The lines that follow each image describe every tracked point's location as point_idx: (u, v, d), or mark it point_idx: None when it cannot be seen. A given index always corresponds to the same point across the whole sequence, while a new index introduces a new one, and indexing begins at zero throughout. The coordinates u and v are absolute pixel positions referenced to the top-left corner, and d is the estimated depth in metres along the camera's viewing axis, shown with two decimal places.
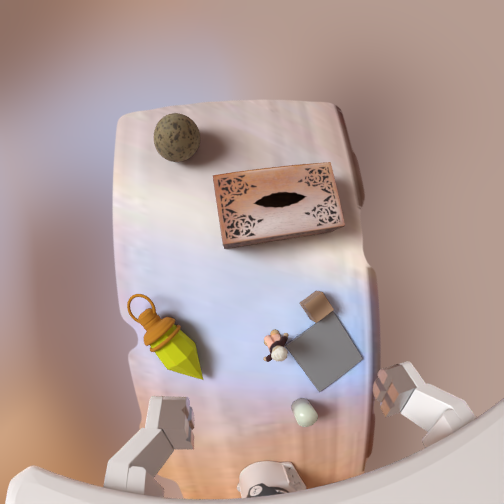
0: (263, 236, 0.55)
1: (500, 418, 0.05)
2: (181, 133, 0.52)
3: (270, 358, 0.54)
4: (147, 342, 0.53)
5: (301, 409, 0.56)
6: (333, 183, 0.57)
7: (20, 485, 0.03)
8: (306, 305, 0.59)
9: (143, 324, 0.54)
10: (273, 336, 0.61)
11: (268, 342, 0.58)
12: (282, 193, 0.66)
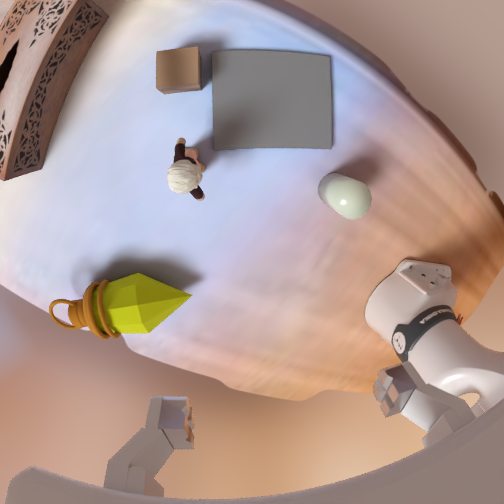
0: (17, 119, 0.20)
1: (500, 418, 0.05)
2: None
3: (194, 192, 0.29)
4: (100, 337, 0.35)
5: (333, 197, 0.33)
6: None
7: (20, 485, 0.03)
8: (158, 85, 0.26)
9: (81, 325, 0.36)
10: None
11: None
12: None
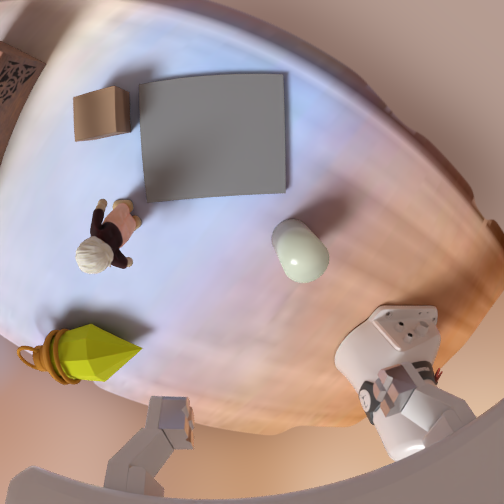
0: None
1: (500, 418, 0.05)
2: None
3: (115, 264, 0.25)
4: None
5: (281, 257, 0.29)
6: None
7: (20, 485, 0.03)
8: (77, 137, 0.22)
9: (45, 370, 0.32)
10: None
11: None
12: None
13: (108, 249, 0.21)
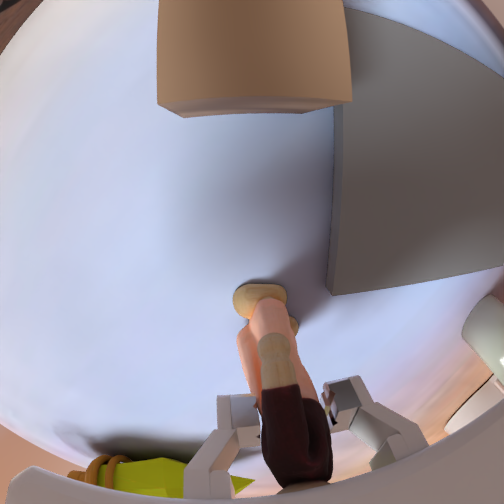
0: None
1: (500, 418, 0.05)
2: None
3: None
4: None
5: (503, 362, 0.13)
6: None
7: (20, 485, 0.03)
8: (168, 90, 0.06)
9: None
10: (254, 329, 0.13)
11: None
12: None
13: None
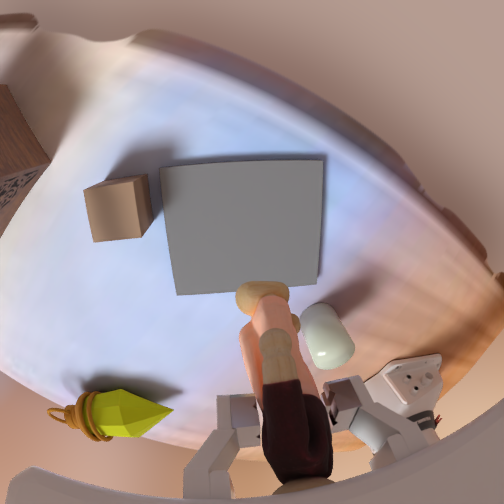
0: None
1: (500, 418, 0.05)
2: None
3: None
4: None
5: (311, 350, 0.29)
6: None
7: (20, 485, 0.03)
8: (95, 238, 0.22)
9: (78, 428, 0.32)
10: (256, 326, 0.13)
11: None
12: None
13: None
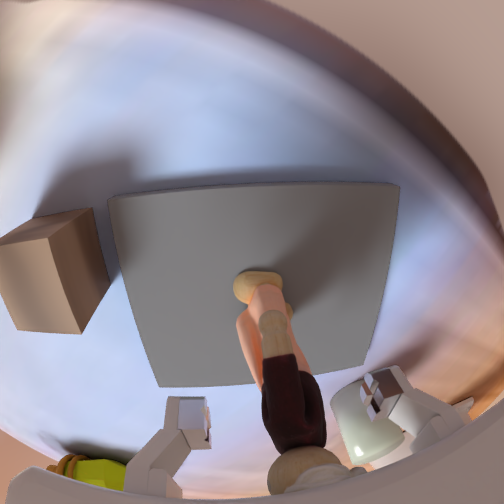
0: None
1: (500, 418, 0.05)
2: None
3: None
4: None
5: (349, 448, 0.17)
6: None
7: (20, 485, 0.03)
8: (18, 325, 0.11)
9: None
10: (253, 312, 0.14)
11: (253, 375, 0.12)
12: None
13: None
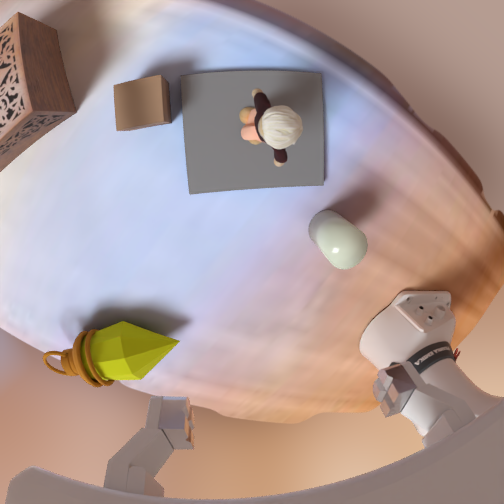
0: None
1: (500, 418, 0.05)
2: None
3: (281, 152, 0.22)
4: None
5: (324, 245, 0.30)
6: (16, 44, 0.12)
7: (20, 485, 0.03)
8: (119, 127, 0.23)
9: (75, 374, 0.33)
10: (249, 120, 0.27)
11: (250, 135, 0.25)
12: None
13: (301, 121, 0.19)
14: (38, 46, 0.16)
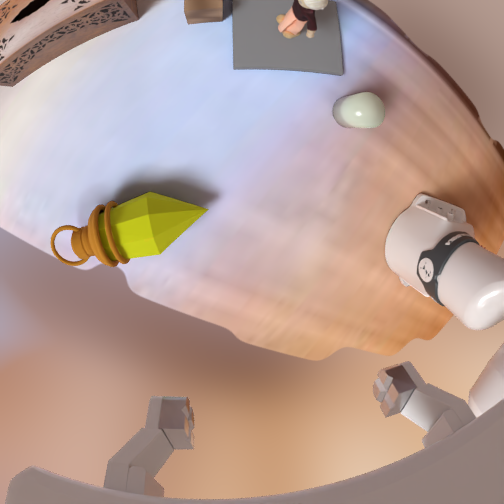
0: (11, 54, 0.17)
1: (500, 418, 0.05)
2: None
3: (313, 20, 0.23)
4: (105, 262, 0.33)
5: (349, 106, 0.31)
6: None
7: (19, 485, 0.03)
8: (186, 9, 0.24)
9: (84, 254, 0.33)
10: (285, 18, 0.27)
11: (288, 20, 0.25)
12: None
13: None
14: None
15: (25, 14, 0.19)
